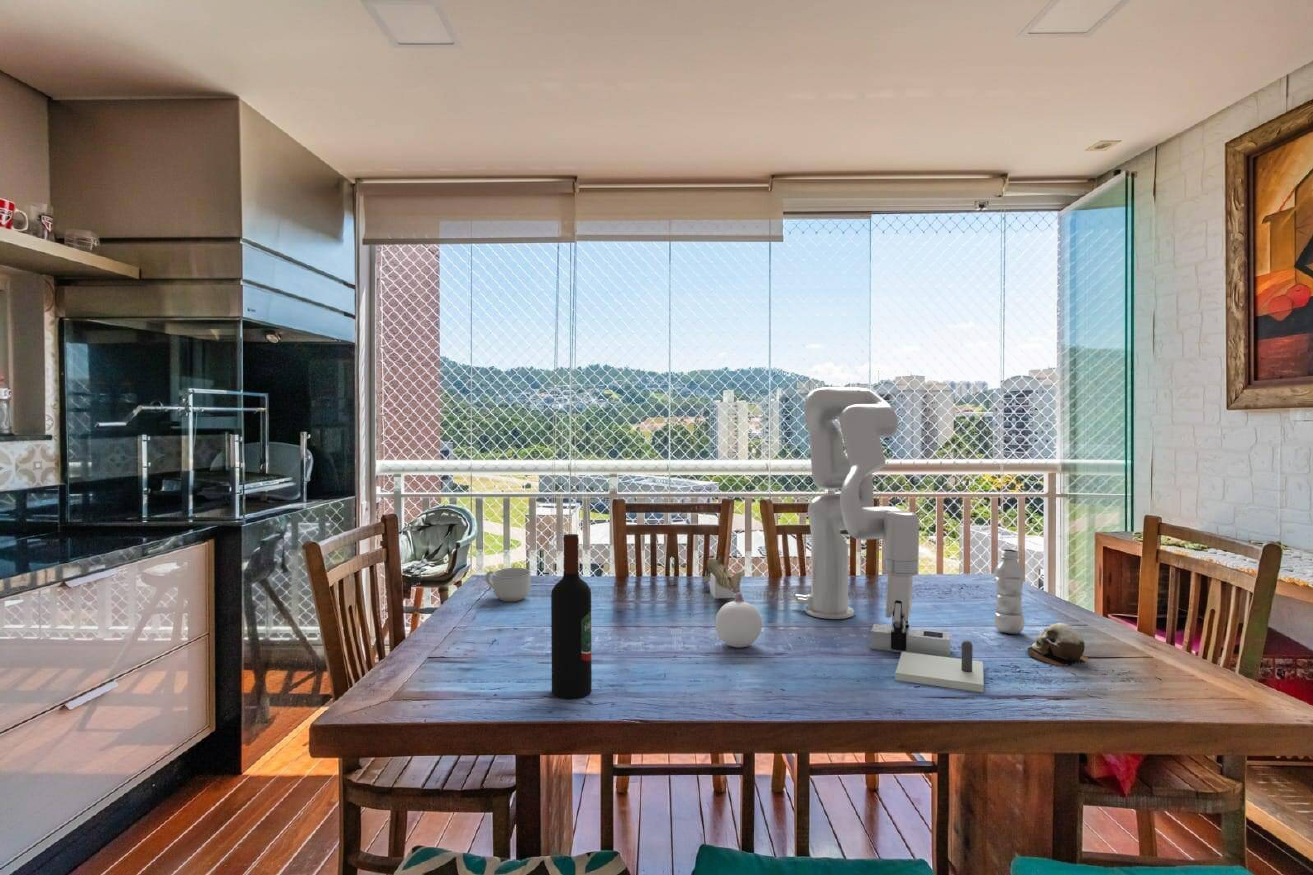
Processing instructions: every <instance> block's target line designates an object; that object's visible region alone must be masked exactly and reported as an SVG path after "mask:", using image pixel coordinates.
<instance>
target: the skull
mask: <svg viewBox="0 0 1313 875" xmlns="http://www.w3.org/2000/svg"><path fill="white" fill-rule="evenodd" d="M1048 626H1049V627H1047V628H1044V630H1043V632H1041V634H1040V635H1038V636H1036V638H1035V639H1036V641H1035V642H1033V643H1032V644H1031V646H1029V647H1028V648H1027V650H1026V651H1027V653H1028V655H1030V657H1033V658H1034V659H1035V660H1040V661H1041V662H1045V663H1047V664H1049V665H1053V666H1054V665H1055V666H1060V667H1061V666H1062V667H1067V668H1072V667H1073V666H1075V665H1077V664H1079V663H1080V664H1085V663H1087V664H1089V663H1091V659H1090V658H1088V657H1087V656H1085V654H1084V653H1085V648H1086V647H1085V641H1084V639H1083V637H1082V635H1081V634H1080V633H1079V632H1078V631H1077V630H1076V629H1075V628H1074V627H1073V626H1071V625H1070V624H1069V623H1068V624H1067V623H1063V622H1057V623H1053V624H1050V625H1048Z"/></svg>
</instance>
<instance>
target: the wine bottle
mask: <svg viewBox="0 0 1313 875" xmlns="http://www.w3.org/2000/svg"><path fill="white" fill-rule="evenodd" d="M562 540H563V574H562V578H561V579H560V580H559V581H558V582H556V584H554V586H553V588H552V589H551V594H550V595H551V596H550V600H551V602H550V604H551V606H550V608H551V612H550V613H551V614H550V615H551V618H550V623H551V625H550V628H551V632H550V633H551V644H550V645H551V646H550V647H551V694H552V695H553V696H554V697H555V698H558V699H561V700H562V699H564V700H577V699H582V698H584V697H588V696H589V695H590V694H591V693H592V690H593V689H592V684H593V682H592V681H593V680H592V675H593V674H592V672H593V671H592V591H591V588H590V586H589V585H588V583H587V582H586V581H584V579H582V578H581V577H580V574H579V540H580V538H579V534H577V533H567V534H563V539H562Z"/></svg>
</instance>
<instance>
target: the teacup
mask: <svg viewBox="0 0 1313 875" xmlns="http://www.w3.org/2000/svg"><path fill="white" fill-rule="evenodd" d="M531 573H532V572H531V570H530V569H528V568H525V567H505V568H500V569H497V570H489V571H487V572H486V574H485V581H486V583H487V584H488V585H489V586H490V587H491V588H492V589H493V593H494V595H495V597H497V598H498V599H499V600H501V601H502V602H508V603H509V602H511V603H512V602H513V603H514V602H518V601H522V600H524V598H525V597H526V596H528V595H529V593H530V590H531ZM491 575H492V579H491V577H490V576H491Z"/></svg>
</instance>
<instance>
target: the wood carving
mask: <svg viewBox="0 0 1313 875" xmlns="http://www.w3.org/2000/svg"><path fill="white" fill-rule="evenodd" d="M721 562H722V557H721V556H718V557H717V559H715V558H708V559H707V561H706V570H705V573H704V578H703V580H702V584H705V583H707V582H710V583H709V585H710V587H709V594H710V595H711V596H712V597H713V599H731V598H732V599H735V596H736V593H741V588H740V586H741V579H742V577H743V572H742V570H740V571H736V573H734V574H732V572H731V571H730V570H728V569H727V567H725V566H724V565H723V563H721ZM741 594H742V593H741Z"/></svg>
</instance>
